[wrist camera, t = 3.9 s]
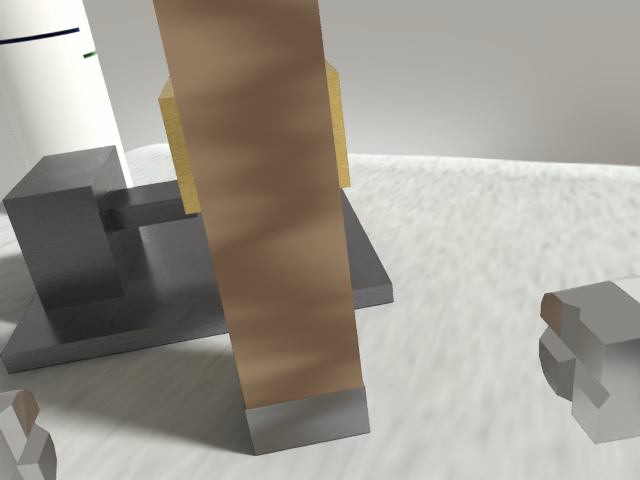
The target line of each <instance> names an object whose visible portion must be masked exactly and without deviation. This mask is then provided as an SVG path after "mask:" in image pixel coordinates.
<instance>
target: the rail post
mask: <svg viewBox="0 0 640 480" xmlns="http://www.w3.org/2000/svg"><path fill="white" fill-rule="evenodd" d="M153 3H154V7H155V12H156V16H157V21H158V25H159V29H160V34H161V38H162V42H163V47H164V51H165V56H166V60H167V64H168V68H169V73H170V77H171V82H172V86H173V91H174V95H175V99H176V104H177V108H178V112H179V117H180V121H181V126H182V130H183V134H184V139H185V143H186V147H187V152H188V156H189V161H190V165H191V169H192V174H193V178H194V182H195V187H196V191H197V195H198V200H199V204H200V209H201V213H202V217H203V222H204V226H205V230H206V235H207V239H208V244H209V248H210V252H211V257H212V261H213V265H214V270H215V274H216V279H217V283H218V287H219V292H220V296H221V300H222V305H223V309H224V314H225V318H226V322H227V327H228V331H229V335H230V340H231V344H232V348H233V353H234V357H235V362H236V366H237V370H238V375H239V379H240V383H241V388H242V392H243V397H244V401H245V413H246V417H247V422H248V426H249V430H250V435H251V439H252V443H253V448H254V452H255V456H256V455H261V454H265V453H270V452H275V451H280V450H285V449H290V448H295V447H300V446H305V445H310V444H315V443H320V442H325V441H329V440H334V439H339V438H344V437H349V436H354V435H359V434H364V433H369V432H370V425H369V417H368V408H367V400H366V391H365V386H364V383H363V380H362V371H361V363H360V354H359V346H358V337H357V329H356V320H355V312H354V303H353V295H352V286H351V278H350V270H349V261H348V253H347V244H346V236H345V227H344V219H343V210H342V202H341V193H340V185H339V176H338V168H337V159H336V151H335V142H334V134H333V125H332V117H331V109H330V100H329V92H328V83H327V75H326V66H325V58H324V50H323V41H322V32H321V24H320V15H319V7H318V0H153Z"/></svg>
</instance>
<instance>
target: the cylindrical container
mask: <svg viewBox="0 0 640 480" xmlns="http://www.w3.org/2000/svg"><path fill="white" fill-rule="evenodd" d="M93 51H95V45H94V42H93V38H92V35H91V31H90V27H89V24H88V20H87V16H86V13H85V9H84V5H83V2H82V0H0V95H1V98H2V101H3V104H4V106H5V109H6V112H7V115H8V118H9V121H10V123H11V126H12V129H13V132H14V135H15V138H16V140H17V143H18V146H19V149H20V151H21V155H22V157H23V160H24V163H25V166H26V169H27V172H29V171H30V170H31V169H32V168H33V167H34V166H35V165H36V164H37V163H38V162H39V161H40V160H41V159H42V158H43V156H48V155H55V154H61V153H67V152H74V151H80V150H86V149H92V148H99V147H105V146H111V145H116V149H117V152H118V156H119V160H120V163H121V167H122V170H123V174H124V177H125V181H126V185H127V188H131V187H133V184H132V180H131V176H130V173H129V169H128V166H127V162H126V158H125V155H124V151H123V148H122V144H121V140H120V136H119V133H118V129H117V125H116V122H115V118H114V114H113V111H112V107H111V104H110V100H109V96H108V93H107V89H106V85H105V82H104V78H103V74H102V71H101V67H100V64H99V60H98V56H97V54H96V53H94V52H93Z"/></svg>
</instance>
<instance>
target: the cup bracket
mask: <svg viewBox="0 0 640 480" xmlns="http://www.w3.org/2000/svg"><path fill="white" fill-rule="evenodd" d="M325 66H326V75H327V83H328V92H329V100H330V109H331V117H332V125H333V134H334V142H335V151H336V159H337V168H338V176H339V185H340V193H341V202H342V210H343V219H344V227H345V236H346V244H347V253H348V261H349V270H350V278H351V286H352V295H353V303H354V309H357V308H362V307H368V306H373V305H378V304H384V303H389V302H394V300H393V288H392V282H391V281H390V279H389V277H388V275H387V273H386V271H385V269H384V267H383V265H382V263H381V262H380V260H379V258H378V256H377V254H376V252H375V250H374V248H373V246H372V244H371V243H370V241H369V239H368V237H367V235H366V233H365V231H364V229H363V227H362V225H361V224H360V222H359V220H358V218H357V216H356V214H355V212H354V210H353V208H352V206H351V205H350V203H349V201H348V199H347V197H346V195H345V193H344V191H343V189H342V188H345V187H351V185H350V176H349V167H348V158H347V149H346V139H345V130H344V123H343V112H342V103H341V93H340V84H339V76H338V71H337V70H336V69H335V68H334V67H333V66H332V65H331V64H330V63H328V62H327V61H326V60H325ZM158 100H159V105H160V109H161V113H162V117H163V121H164V125H165V129H166V134H167V138H168V142H169V146H170V150H171V155H172V159H173V163H174V167H175V171H176V175H177V180H174V181H168V182H162V183H156V184H149V185H143V186H137V187H131V188H127V185H126V181H125V177H124V174H123V170H122V167H121V163H120V160H119V156H118V152H117V149H116V145H111V146H105V147H99V148H92V149H86V150H80V151H74V152H67V153H61V154H55V155H48V156H43V158H42V159H41V160H40V161H39V162H38V163H37V164H36V165H35V166H34V167H33V168H32V169H31V170H30V171H29V172H28V173H27V174H26V176H25V177H24V178H23V179H22V180H21V181H20V182H19V183H18V184H17V185H16V186H15V187H14V188H13V189H12V190H11V192H10V193H9V194H8V195H7V196H6V197H5V198H4V199H3V200H2V201H3V203H4V206H5V208H6V211H7V214H8V216H9V219H10V222H11V224H12V227H13V230H14V232H15V235H16V237H17V240H18V243H19V245H20V248H21V251H22V253H23V256H24V258H25V261H26V264H27V266H28V269H29V272H30V274H31V277H32V280H33V282H34V285H35V287H36V290H37V293H36V294H35V296H34V298H33V300H32V301H31V303H30V305H29V306H28V308H27V310H26V312H25V313H24V315H23V317H22V319H21V320H20V322H19V324H18V326H17V327H16V329H15V331H14V333H13V334H12V336H11V338H10V340H9V341H8V343H7V345H6V347H5V348H4V350H3V352H2V354H1V358H2V360H3V362H4V365H5V367H6V369H7V372H8V373H12V372H18V371H23V370H29V369H34V368H39V367H45V366H50V365H55V364H61V363H66V362H72V361H77V360H82V359H88V358H93V357H99V356H104V355H109V354H115V353H120V352H125V351H131V350H136V349H142V348H147V347H152V346H158V345H163V344H169V343H174V342H179V341H185V340H190V339H195V338H201V337H206V336H212V335H217V334H222V333H228V332H229V331H228V327H227V322H226V318H225V314H224V309H223V305H222V300H221V296H220V292H219V287H218V283H217V279H216V274H215V270H214V265H213V261H212V257H211V252H210V248H209V244H208V239H207V235H206V230H205V226H204V222H203V217H202V213H201V209H200V204H199V200H198V195H197V191H196V187H195V182H194V178H193V174H192V169H191V165H190V161H189V156H188V152H187V147H186V143H185V139H184V134H183V130H182V126H181V121H180V117H179V112H178V108H177V104H176V99H175V95H174V91H173V86H172V82H171V77H170V76H169V78H168V80H167V82H166V85H165V86H164V89H163V91H162V93H161V95H160V97H159V99H158Z"/></svg>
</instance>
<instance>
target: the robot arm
mask: <svg viewBox="0 0 640 480" xmlns="http://www.w3.org/2000/svg"><path fill="white" fill-rule="evenodd" d="M540 316H541V317H542V319H543V320H544V321H545V322H546V323H547V324H548V325H549V326H548V328H547V329H546V330H545V332H544V333H543V335H542V336H541V337H540V339H539V357H540V362H541V366H542V370H543V373H544V375H545V377H546V379H547V381H548V384H549V385H550V386H551V388H552V389H553V391H554V392H555V393H556V395H558V396H560V397H562V398H565V399H567V400H569V401H571V402H572V412H571V414H572V415H573V417H574V418H575V419H576V421H577V422H578V423H579V424H580V426H581V427H582V428H583V430H584V431H585V432H586V433H587V435H588V436H589V437H590V438H591V440H592V441H593V442H594V444H599V443H605V442H610V441H616V440H622V439H627V438H633V437H639V436H640V276H636V275H630V276H625V277H621V278H616V279H612V280H607V281H604V282H600V283H596V284H591V285H586V286H581V287H576V288H571V289H566V290H561V291H556V292H551V293H546V294H544V297H543V299H542V302H541V314H540ZM38 412H39V407H38V405H37V403H36V401H35V399H34V397H33V395H32V393H31V392H29V391H27V390H25V389H19V390H13V391H7V392H1V393H0V480H56V466H57V458H56V453H55V448H54V444H53V441H52V439H51V436H50V434H49V432H48V431H46V430H45V429H43V428H41V427H40V426H38V425H36V424H35V423H34V422H35V420H36V417H37V415H38Z"/></svg>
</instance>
